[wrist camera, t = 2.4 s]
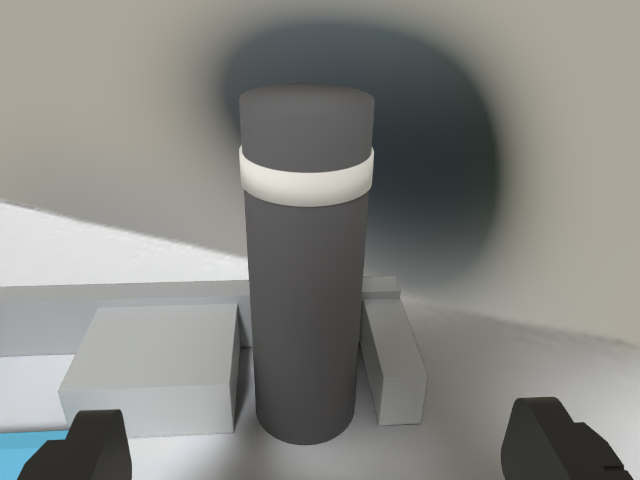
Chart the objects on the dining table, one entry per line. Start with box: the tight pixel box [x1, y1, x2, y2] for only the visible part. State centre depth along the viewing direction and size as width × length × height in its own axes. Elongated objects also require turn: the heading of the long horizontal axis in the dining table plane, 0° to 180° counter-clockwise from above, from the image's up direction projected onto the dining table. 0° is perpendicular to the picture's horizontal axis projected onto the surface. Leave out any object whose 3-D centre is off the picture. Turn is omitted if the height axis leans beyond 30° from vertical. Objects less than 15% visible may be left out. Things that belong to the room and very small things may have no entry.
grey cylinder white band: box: [239, 83, 375, 445], centre depth 23 cm, size 5×5×15 cm
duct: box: [0, 276, 428, 480], centre depth 26 cm, size 25×10×4 cm, turn 95°
